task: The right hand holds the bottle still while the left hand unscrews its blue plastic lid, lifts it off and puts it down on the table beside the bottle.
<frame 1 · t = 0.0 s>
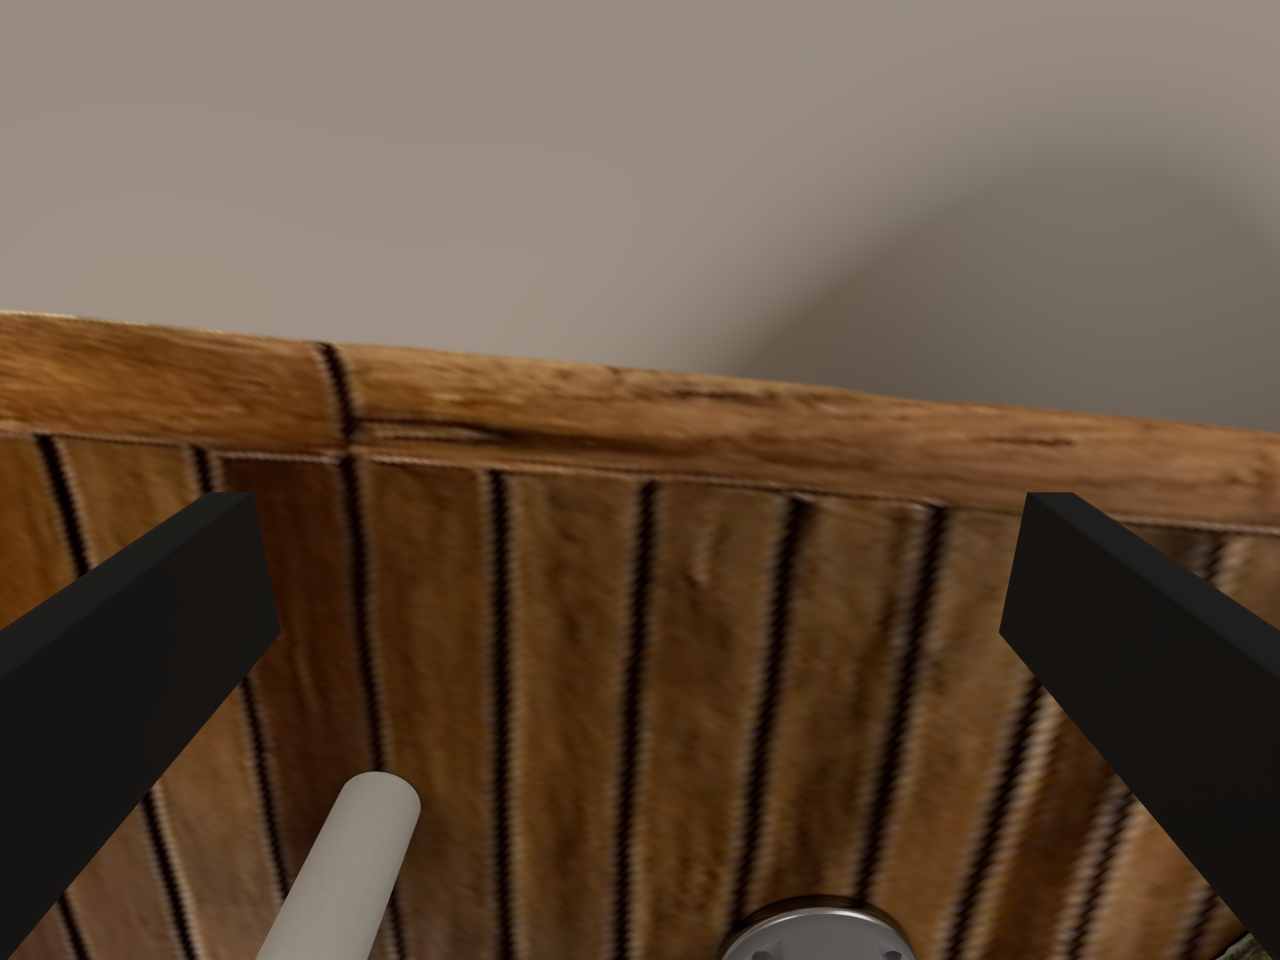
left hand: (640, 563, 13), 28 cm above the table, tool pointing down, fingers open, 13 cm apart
bottle: (380, 802, 50), on the table
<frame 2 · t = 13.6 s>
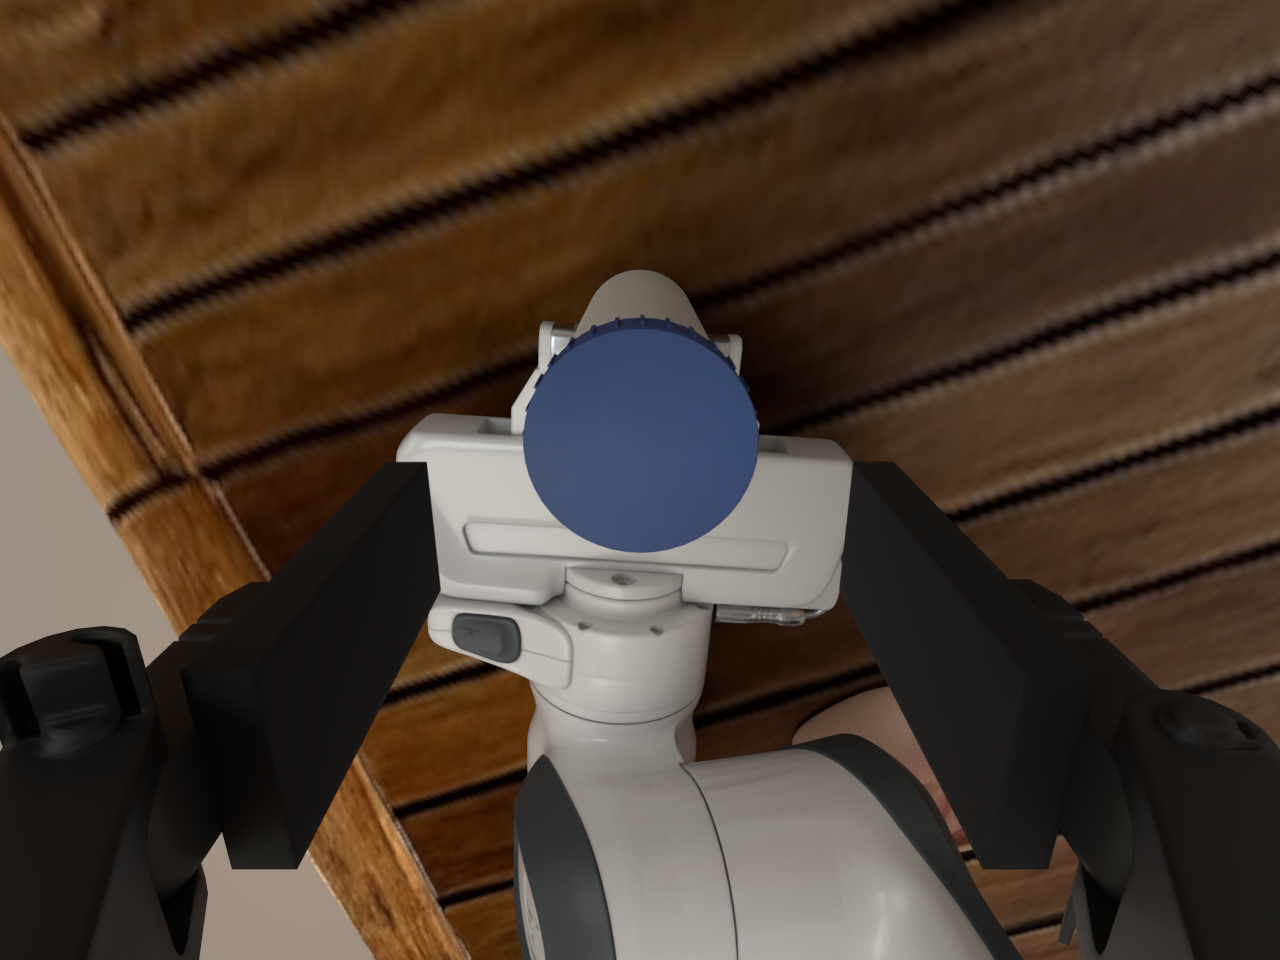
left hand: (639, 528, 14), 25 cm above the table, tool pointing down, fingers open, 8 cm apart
lid: (640, 443, 19), point 20 cm above the table, screwed on, not yet turned
bottle: (639, 325, 37), on the table, touching right hand
anatomical model: (895, 757, 47), on the table
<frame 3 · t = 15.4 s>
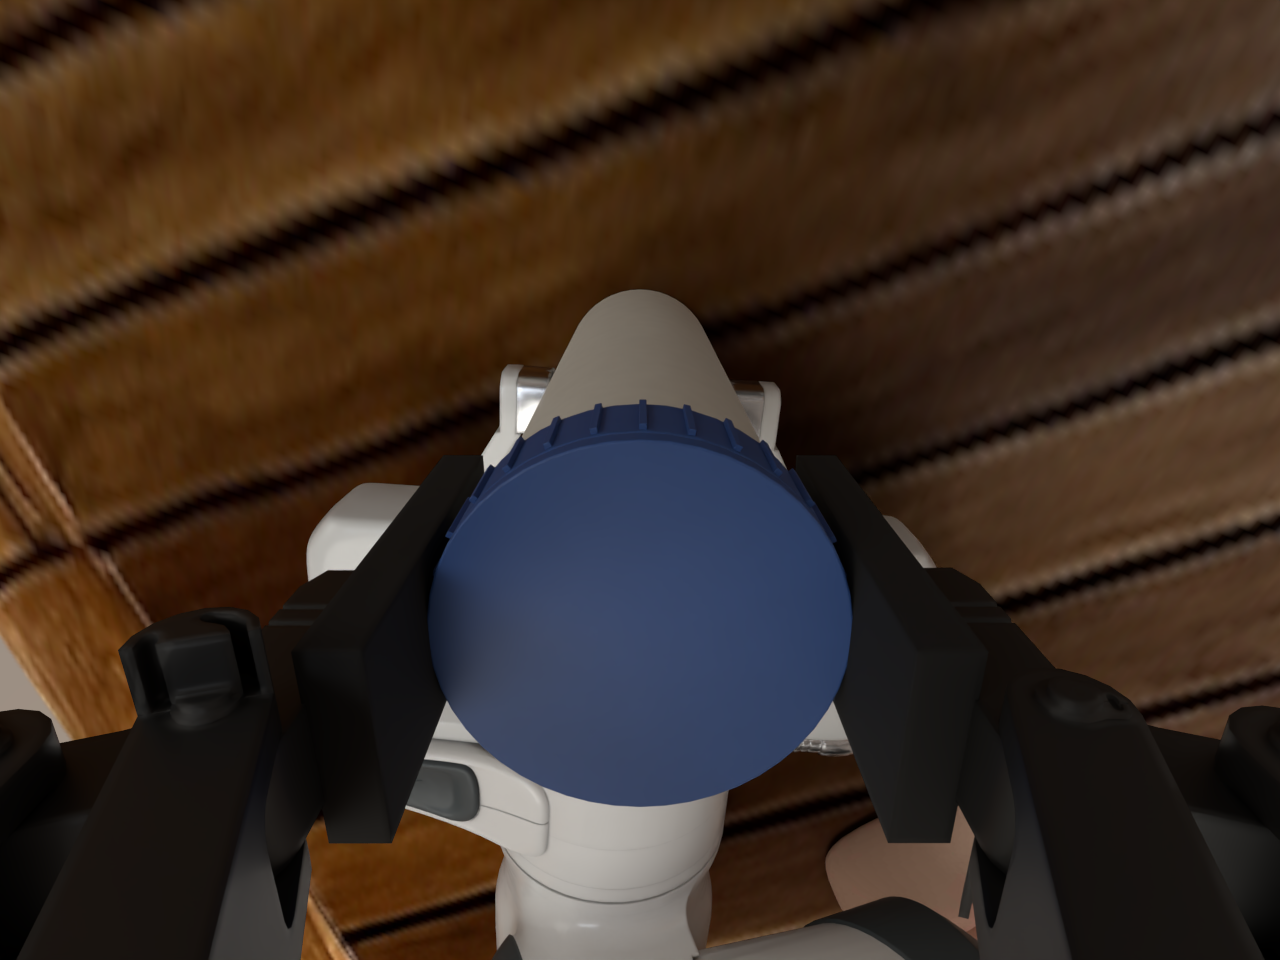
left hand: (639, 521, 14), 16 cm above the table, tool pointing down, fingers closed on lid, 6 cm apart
lid: (639, 629, 11), point 20 cm above the table, screwed on, not yet turned, touching left hand
bottle: (639, 361, 29), on the table, touching right hand
anatomical model: (951, 876, 39), on the table
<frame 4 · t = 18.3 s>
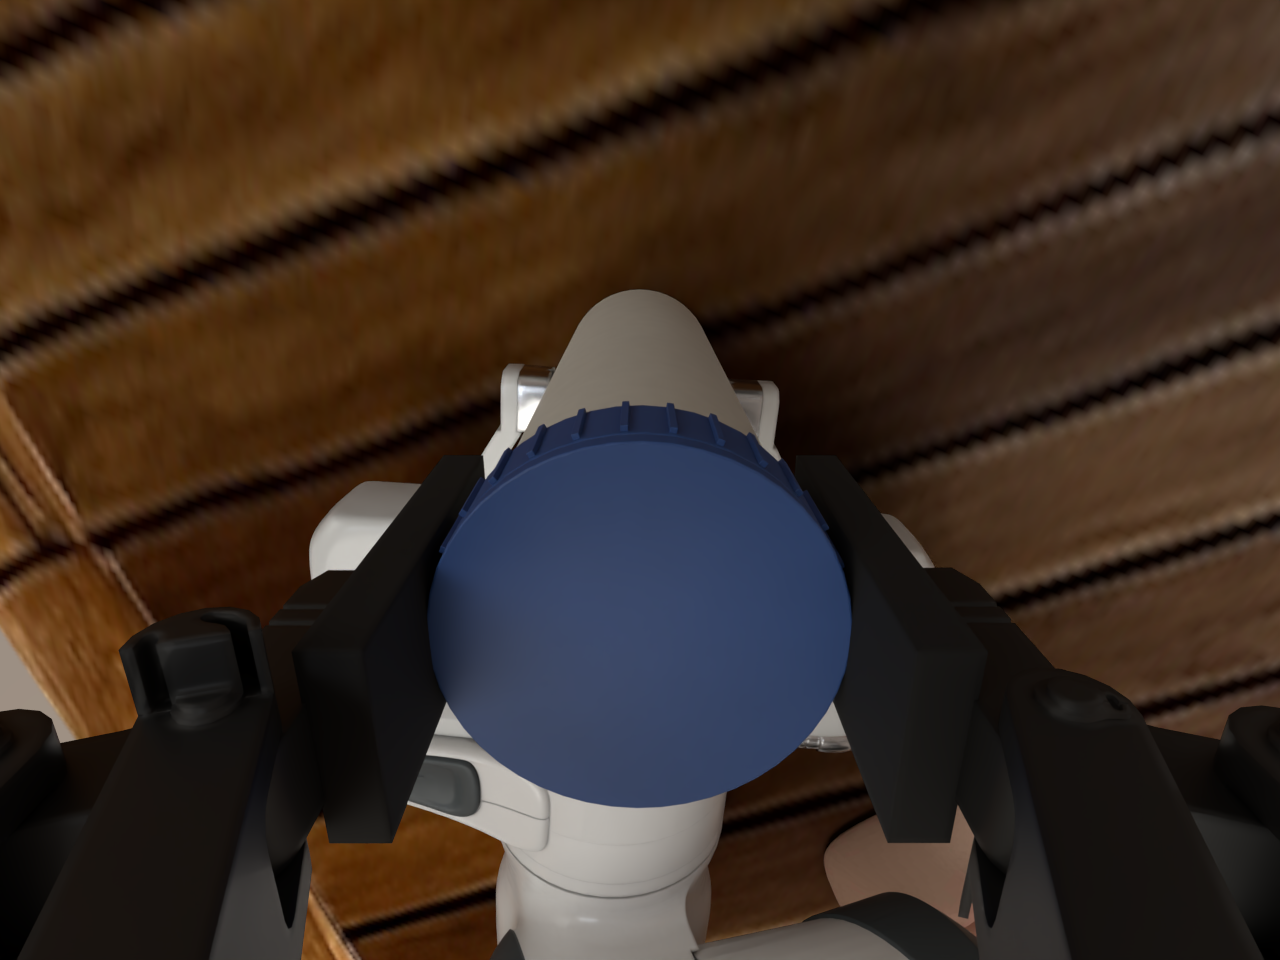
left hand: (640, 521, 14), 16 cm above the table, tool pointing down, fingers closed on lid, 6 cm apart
lid: (639, 630, 11), point 20 cm above the table, turned 67° so far, risen 0.2 cm, still on its thread, touching left hand
bottle: (639, 360, 29), on the table, touching right hand
anatomical model: (948, 872, 39), on the table
when the left hand's fingers open (16 cm above the table, at t = 19.5 s): lid stays where it is, point 20 cm above the table.
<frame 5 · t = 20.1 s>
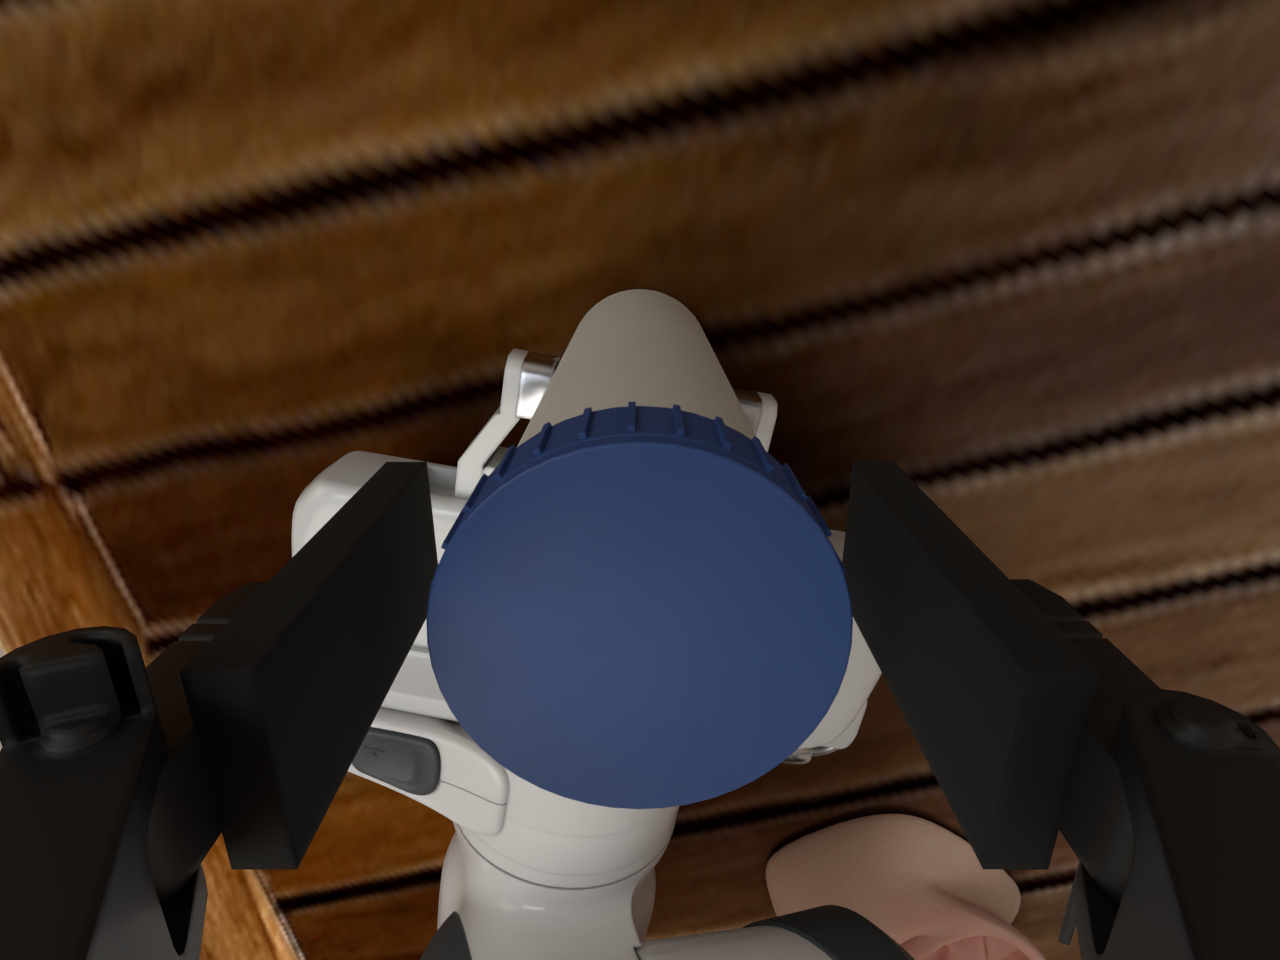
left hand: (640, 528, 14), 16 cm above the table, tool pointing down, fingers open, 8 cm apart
lid: (639, 631, 11), point 20 cm above the table, turned 133° so far, risen 0.4 cm, still on its thread
bottle: (639, 359, 29), on the table, touching right hand
anatomical model: (885, 892, 40), on the table
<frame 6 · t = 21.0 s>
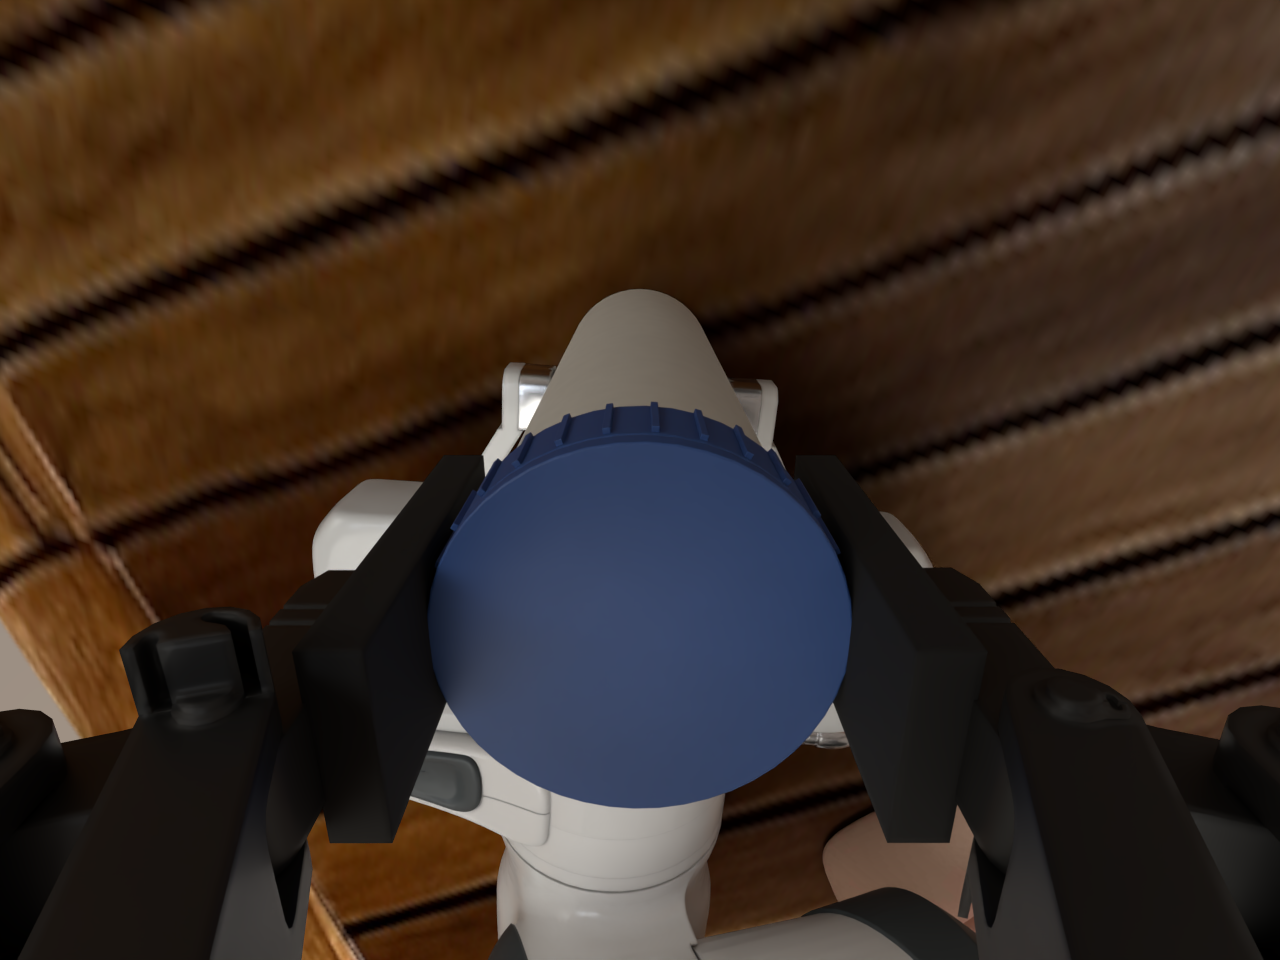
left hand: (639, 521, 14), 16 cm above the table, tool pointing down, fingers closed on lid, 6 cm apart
lid: (639, 631, 11), point 20 cm above the table, turned 133° so far, risen 0.4 cm, still on its thread, touching left hand
bottle: (639, 359, 29), on the table, touching right hand
anatomical model: (946, 869, 39), on the table
when the left hand's fingers open (0 cm above the table, at t = 27.8 s): lid drops 2 cm, point 2 cm above the table.
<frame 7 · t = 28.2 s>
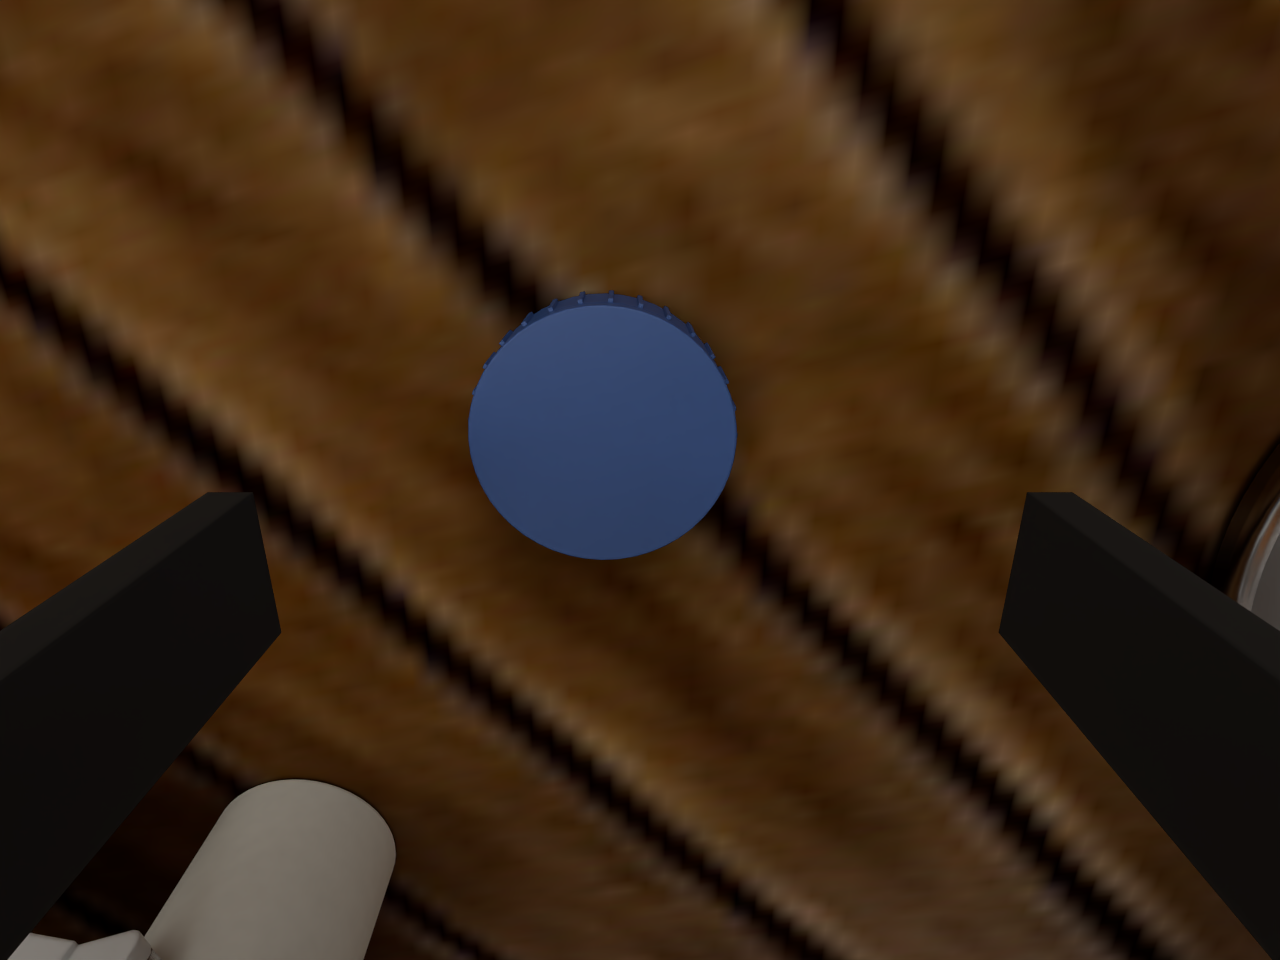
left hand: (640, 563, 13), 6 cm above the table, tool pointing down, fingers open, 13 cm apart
lid: (603, 436, 17), point 2 cm above the table, off its thread
bottle: (307, 845, 23), on the table, touching right hand
when the right hand's fingers open (7 cm above the table, at t = 28.5 s): bottle stays where it is, on the table.
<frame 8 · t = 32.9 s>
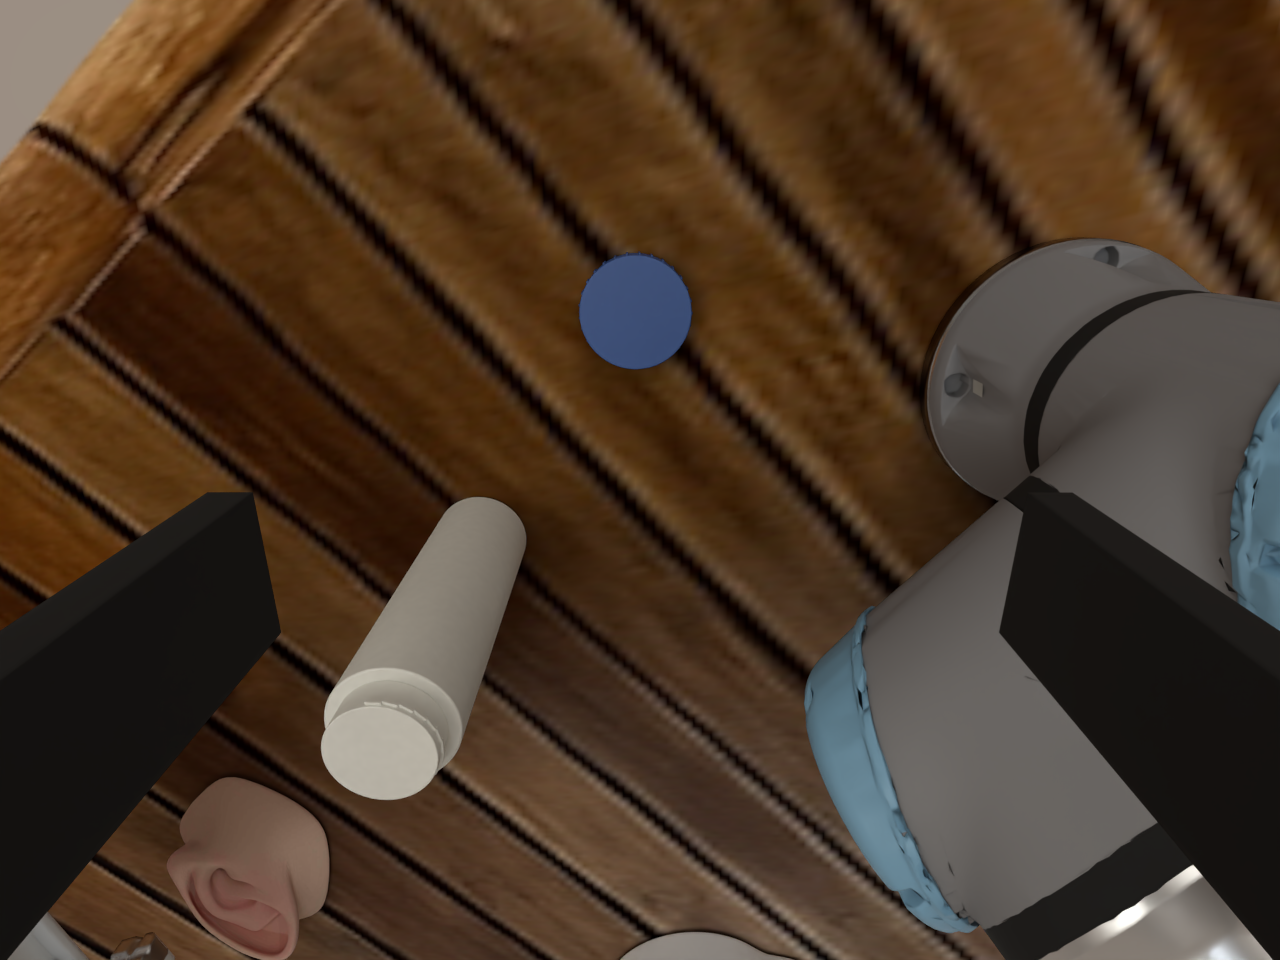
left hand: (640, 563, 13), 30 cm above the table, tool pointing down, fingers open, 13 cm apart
lid: (635, 312, 40), point 2 cm above the table, off its thread
bottle: (482, 537, 46), on the table
anatomical model: (259, 847, 55), on the table
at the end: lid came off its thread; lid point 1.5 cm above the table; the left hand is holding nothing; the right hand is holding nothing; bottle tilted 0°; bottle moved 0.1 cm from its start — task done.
